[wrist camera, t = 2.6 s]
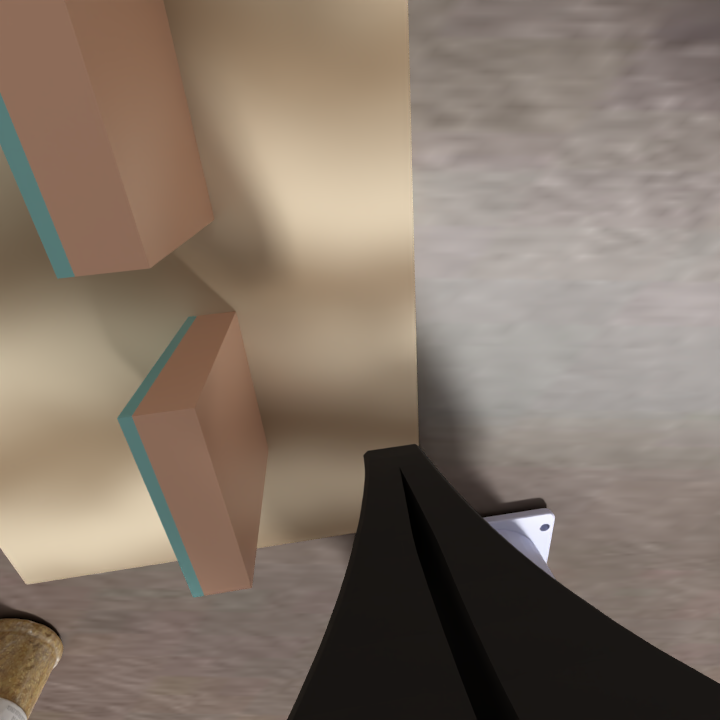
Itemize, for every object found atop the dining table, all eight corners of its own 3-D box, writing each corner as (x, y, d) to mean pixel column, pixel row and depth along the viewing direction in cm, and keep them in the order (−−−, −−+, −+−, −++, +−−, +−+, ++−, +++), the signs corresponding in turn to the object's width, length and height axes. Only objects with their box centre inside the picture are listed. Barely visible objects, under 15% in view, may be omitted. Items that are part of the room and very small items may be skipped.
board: (416, 509, 21) (420, 522, 20) (36, 568, 19) (26, 584, 19) (389, -393, 9) (396, -442, 8) (-601, -386, 7) (-696, -442, 7)
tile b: (214, 219, 13) (150, 268, 7) (161, 225, 13) (57, 278, 7) (154, -39, 10) (-16, -254, 5) (85, -35, 10) (-168, -249, 5)
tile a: (268, 450, 17) (251, 587, 12) (228, 455, 17) (193, 597, 11) (236, 311, 14) (194, 408, 9) (188, 316, 14) (116, 418, 9)
